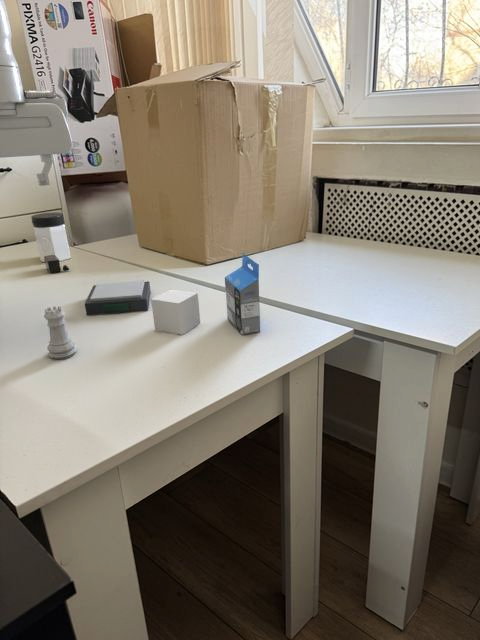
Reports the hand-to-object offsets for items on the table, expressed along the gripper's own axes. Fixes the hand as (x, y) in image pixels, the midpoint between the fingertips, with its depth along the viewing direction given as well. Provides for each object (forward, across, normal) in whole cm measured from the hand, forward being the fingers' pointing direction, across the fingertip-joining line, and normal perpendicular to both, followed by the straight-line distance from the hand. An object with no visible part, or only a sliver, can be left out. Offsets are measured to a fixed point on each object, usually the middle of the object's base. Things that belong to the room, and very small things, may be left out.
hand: (13, 188), depth 81 cm
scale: (+26, -16, -10) cm, 32 cm away
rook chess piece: (+26, -1, +10) cm, 28 cm away
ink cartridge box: (+26, -32, +16) cm, 44 cm away
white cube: (+26, -22, +10) cm, 35 cm away
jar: (+26, -12, -58) cm, 65 cm away
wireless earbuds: (+26, -10, -45) cm, 53 cm away
